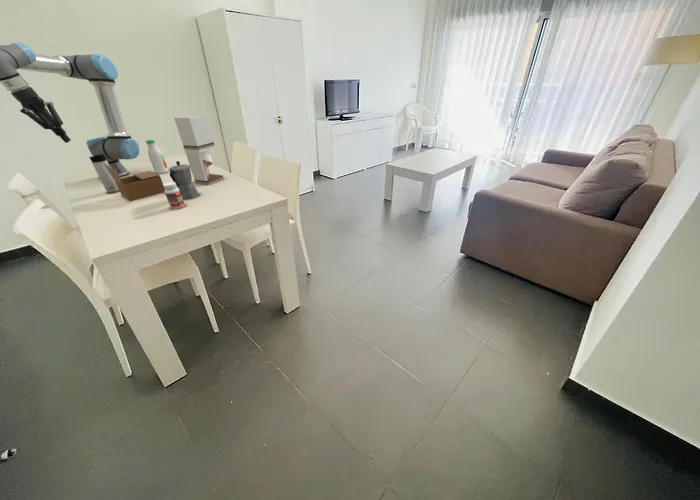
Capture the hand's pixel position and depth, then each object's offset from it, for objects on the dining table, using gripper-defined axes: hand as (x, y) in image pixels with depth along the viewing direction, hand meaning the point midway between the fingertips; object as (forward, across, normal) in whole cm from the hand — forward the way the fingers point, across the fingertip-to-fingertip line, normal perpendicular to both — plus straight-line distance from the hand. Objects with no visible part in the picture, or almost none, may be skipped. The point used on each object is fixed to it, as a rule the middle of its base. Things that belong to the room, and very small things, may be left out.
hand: (68, 141), depth 137 cm
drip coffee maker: (+38, +50, -2) cm, 63 cm away
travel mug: (+28, +2, -4) cm, 29 cm away
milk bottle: (+39, +16, +28) cm, 50 cm away
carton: (+29, +20, -13) cm, 38 cm away
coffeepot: (+31, +45, -26) cm, 61 cm away
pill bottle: (+28, +43, -38) cm, 64 cm away
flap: (+14, +16, -15) cm, 26 cm away
